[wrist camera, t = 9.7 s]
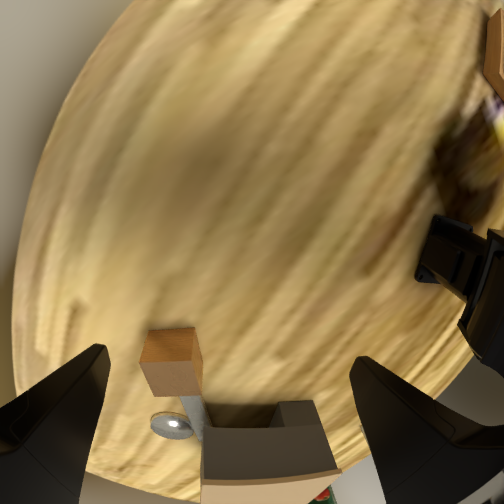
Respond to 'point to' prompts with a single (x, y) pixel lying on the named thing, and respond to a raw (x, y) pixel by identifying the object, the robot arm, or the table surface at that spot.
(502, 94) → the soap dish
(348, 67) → the table surface
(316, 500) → the canned tomato
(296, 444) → the cabinet
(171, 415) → the token
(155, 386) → the brown block with rod
